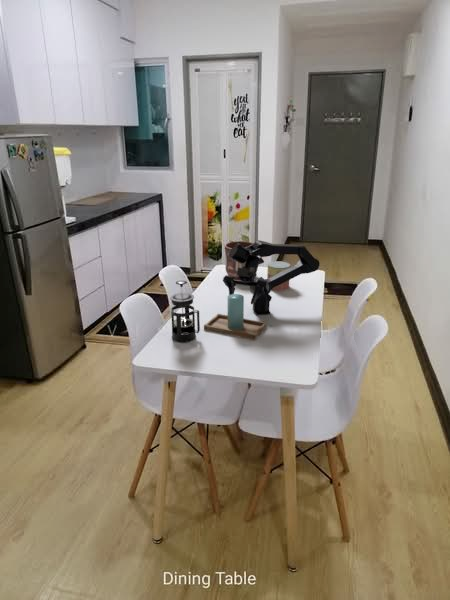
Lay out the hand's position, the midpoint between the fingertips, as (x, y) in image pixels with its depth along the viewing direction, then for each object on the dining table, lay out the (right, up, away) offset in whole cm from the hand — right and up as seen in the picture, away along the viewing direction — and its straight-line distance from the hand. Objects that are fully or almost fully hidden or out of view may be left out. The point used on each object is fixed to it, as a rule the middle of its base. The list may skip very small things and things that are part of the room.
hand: (240, 302), depth 176 cm
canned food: (+21, +7, +46) cm, 51 cm away
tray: (-2, -10, +1) cm, 11 cm away
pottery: (+2, +13, +60) cm, 62 cm away
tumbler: (-2, -10, 0) cm, 10 cm away
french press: (-22, -14, -7) cm, 27 cm away
